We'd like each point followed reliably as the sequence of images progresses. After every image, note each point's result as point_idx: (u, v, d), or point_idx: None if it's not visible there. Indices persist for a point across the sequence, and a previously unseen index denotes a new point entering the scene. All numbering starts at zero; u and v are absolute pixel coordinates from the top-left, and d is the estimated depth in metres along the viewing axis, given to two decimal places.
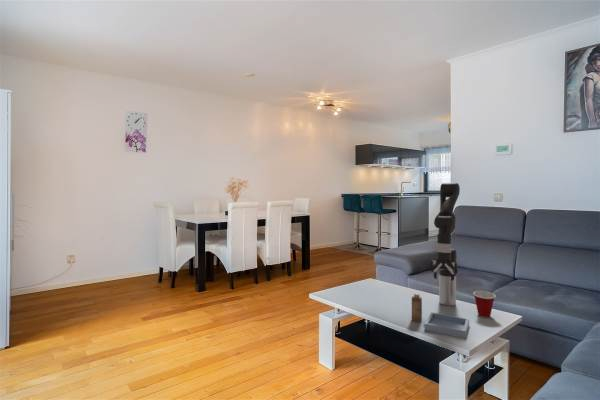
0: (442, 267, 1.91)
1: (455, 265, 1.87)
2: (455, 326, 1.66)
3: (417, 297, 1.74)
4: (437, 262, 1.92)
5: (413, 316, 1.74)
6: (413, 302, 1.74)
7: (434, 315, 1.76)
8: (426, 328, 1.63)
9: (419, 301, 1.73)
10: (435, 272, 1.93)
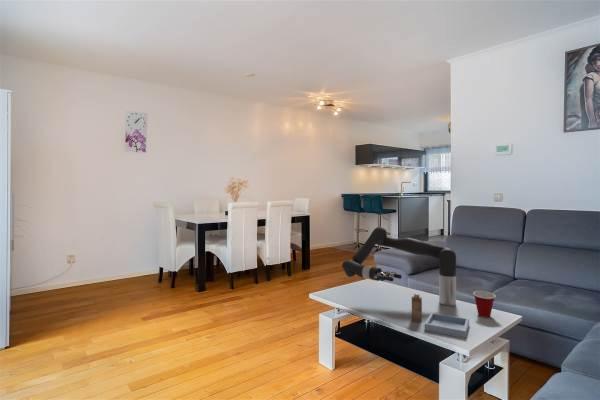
0: (385, 274, 1.88)
1: (388, 271, 1.94)
2: (455, 326, 1.66)
3: (417, 297, 1.74)
4: (378, 274, 1.88)
5: (413, 316, 1.74)
6: (413, 302, 1.74)
7: (434, 315, 1.76)
8: (426, 328, 1.63)
9: (419, 301, 1.73)
10: None
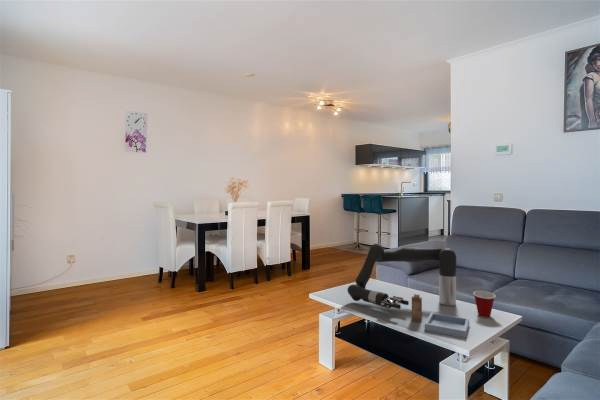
0: (392, 300, 1.85)
1: (395, 296, 1.91)
2: (455, 326, 1.66)
3: (417, 297, 1.74)
4: (385, 300, 1.85)
5: (413, 316, 1.74)
6: (413, 302, 1.74)
7: (434, 315, 1.76)
8: (426, 328, 1.63)
9: (419, 301, 1.73)
10: (393, 304, 1.80)
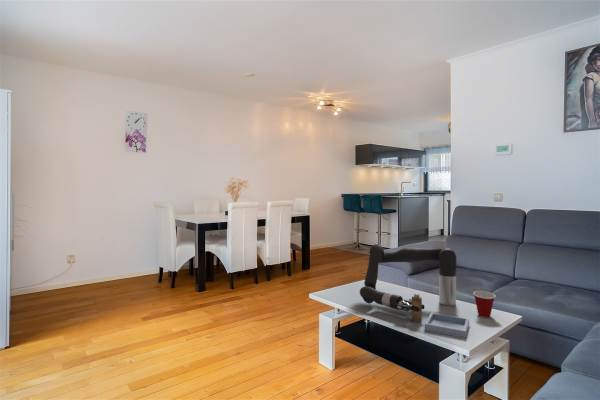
0: (407, 302, 1.79)
1: (411, 299, 1.84)
2: (455, 326, 1.66)
3: (417, 297, 1.74)
4: (400, 303, 1.79)
5: (413, 316, 1.74)
6: (413, 302, 1.74)
7: (434, 315, 1.76)
8: (426, 328, 1.63)
9: (419, 301, 1.73)
10: None
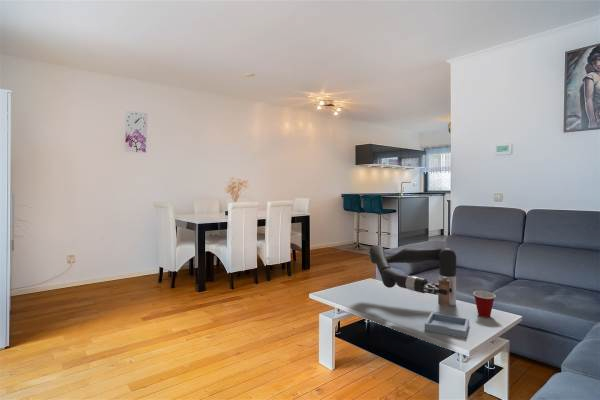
0: (433, 285, 1.71)
1: (436, 283, 1.75)
2: (455, 326, 1.66)
3: (445, 280, 1.66)
4: (426, 286, 1.70)
5: (440, 300, 1.66)
6: (441, 285, 1.66)
7: (434, 315, 1.76)
8: (426, 328, 1.63)
9: (447, 284, 1.64)
10: None
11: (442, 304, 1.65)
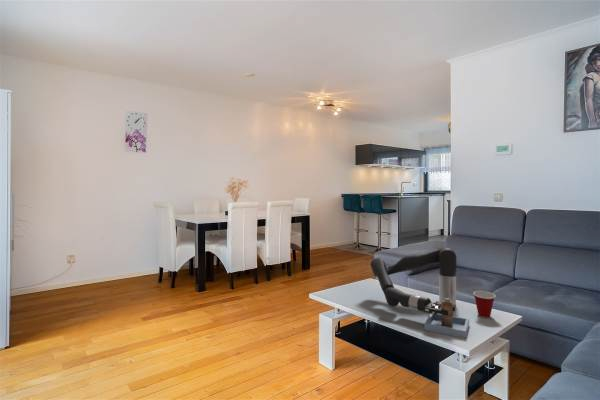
0: (436, 305, 1.69)
1: (438, 302, 1.75)
2: (455, 326, 1.66)
3: (448, 301, 1.65)
4: (429, 306, 1.69)
5: (443, 322, 1.65)
6: (443, 307, 1.65)
7: (434, 315, 1.76)
8: (426, 328, 1.63)
9: (450, 306, 1.64)
10: None
11: (445, 326, 1.64)
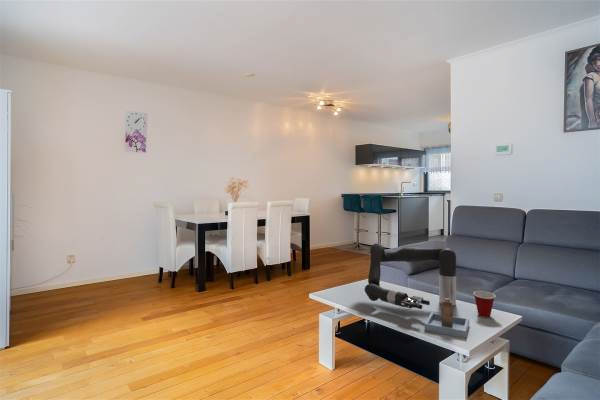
0: (412, 300, 1.79)
1: (415, 296, 1.85)
2: (455, 326, 1.66)
3: (448, 301, 1.65)
4: (405, 300, 1.79)
5: (443, 322, 1.65)
6: (443, 307, 1.65)
7: (434, 315, 1.76)
8: (426, 328, 1.63)
9: (450, 306, 1.64)
10: None
11: (445, 326, 1.64)
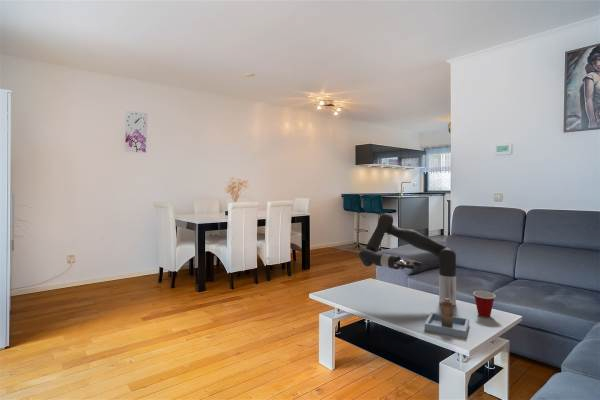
0: (405, 262, 1.83)
1: None
2: (455, 326, 1.66)
3: (448, 301, 1.65)
4: (398, 262, 1.83)
5: (443, 322, 1.65)
6: (443, 307, 1.65)
7: (434, 315, 1.76)
8: (426, 328, 1.63)
9: (450, 306, 1.64)
10: None
11: (445, 326, 1.64)
